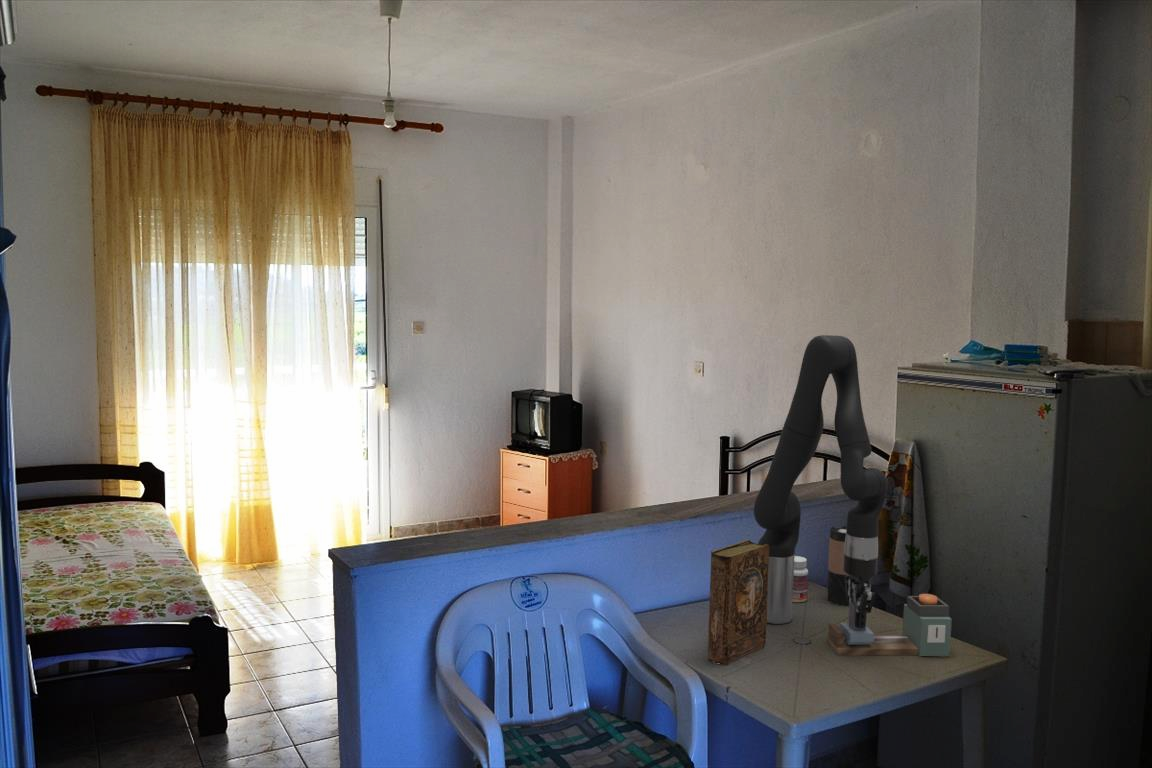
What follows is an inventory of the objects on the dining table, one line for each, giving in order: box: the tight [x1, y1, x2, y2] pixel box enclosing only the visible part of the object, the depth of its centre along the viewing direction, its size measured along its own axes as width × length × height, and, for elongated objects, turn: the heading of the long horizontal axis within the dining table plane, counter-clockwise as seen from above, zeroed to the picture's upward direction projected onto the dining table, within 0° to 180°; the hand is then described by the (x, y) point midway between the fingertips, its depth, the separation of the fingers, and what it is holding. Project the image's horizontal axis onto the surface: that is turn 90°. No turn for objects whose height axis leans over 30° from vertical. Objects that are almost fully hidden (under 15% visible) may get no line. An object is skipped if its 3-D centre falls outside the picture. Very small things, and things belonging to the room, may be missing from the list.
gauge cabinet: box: [901, 595, 953, 658], centre depth 215 cm, size 7×10×12 cm, turn 3°
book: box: [707, 539, 769, 665], centre depth 210 cm, size 16×6×25 cm, turn 134°
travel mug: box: [827, 525, 849, 606], centre depth 246 cm, size 8×8×20 cm
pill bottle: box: [793, 555, 809, 603], centre depth 248 cm, size 6×6×11 cm
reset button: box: [918, 593, 938, 605], centre depth 214 cm, size 4×4×2 cm
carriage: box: [839, 601, 875, 645], centre depth 214 cm, size 6×7×9 cm
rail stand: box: [826, 623, 919, 657], centre depth 215 cm, size 19×8×5 cm, turn 93°
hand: (857, 624), depth 214 cm, fingers closed on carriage, 3 cm apart
